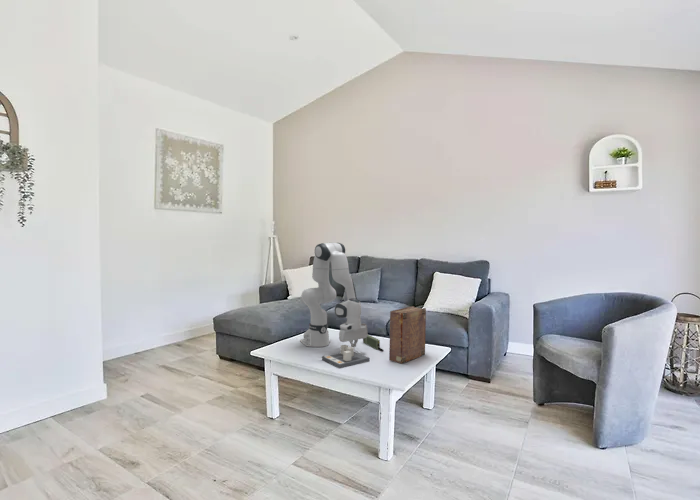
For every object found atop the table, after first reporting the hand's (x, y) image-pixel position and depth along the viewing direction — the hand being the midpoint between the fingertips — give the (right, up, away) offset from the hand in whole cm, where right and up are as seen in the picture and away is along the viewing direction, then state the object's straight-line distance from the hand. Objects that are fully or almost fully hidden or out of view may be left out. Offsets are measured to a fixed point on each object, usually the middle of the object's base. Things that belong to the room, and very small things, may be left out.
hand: (353, 346), depth 242 cm
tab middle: (-2, -3, -8) cm, 9 cm away
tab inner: (-6, -3, -4) cm, 8 cm away
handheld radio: (+13, -5, +19) cm, 24 cm away
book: (+33, -6, -2) cm, 34 cm away
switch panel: (-5, -6, -10) cm, 12 cm away
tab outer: (-4, -4, -16) cm, 17 cm away
